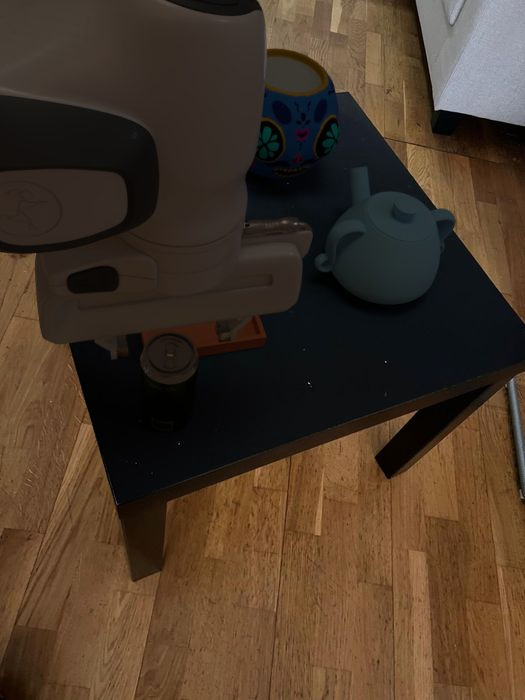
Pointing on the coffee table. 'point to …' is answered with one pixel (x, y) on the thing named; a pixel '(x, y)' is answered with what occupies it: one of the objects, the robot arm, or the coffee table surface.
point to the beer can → (168, 380)
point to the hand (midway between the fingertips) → (173, 343)
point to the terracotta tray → (208, 339)
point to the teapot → (385, 244)
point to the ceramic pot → (295, 116)
